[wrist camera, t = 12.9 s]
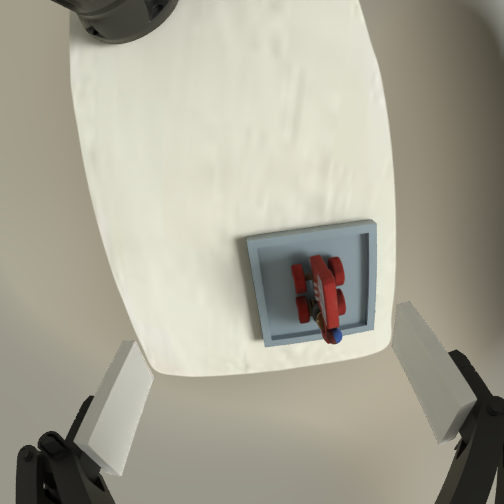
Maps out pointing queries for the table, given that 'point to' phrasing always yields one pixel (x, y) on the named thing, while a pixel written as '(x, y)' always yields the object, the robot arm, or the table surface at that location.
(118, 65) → the table surface
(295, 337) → the tray
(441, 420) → the robot arm
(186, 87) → the table surface
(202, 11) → the table surface
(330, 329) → the toy fire truck
